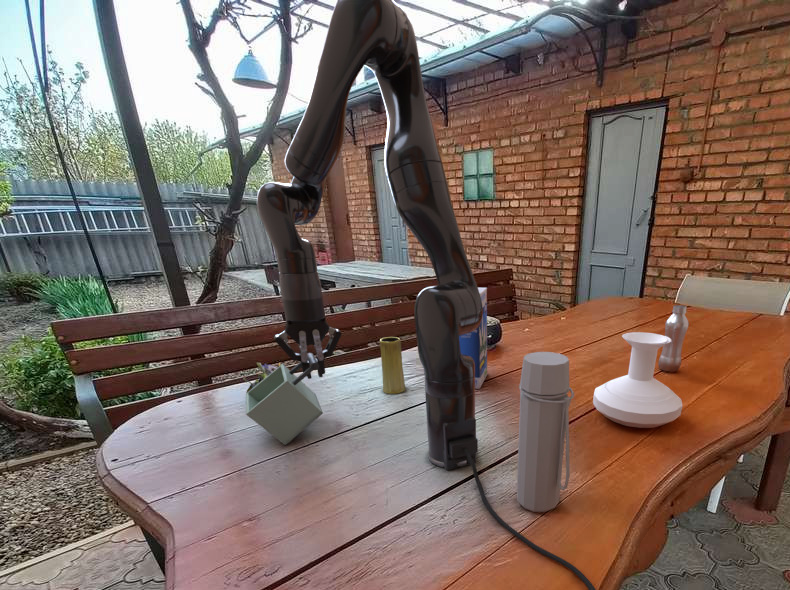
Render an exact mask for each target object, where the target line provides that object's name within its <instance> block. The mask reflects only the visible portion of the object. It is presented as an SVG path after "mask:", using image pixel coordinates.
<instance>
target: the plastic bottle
mask: <svg viewBox="0 0 790 590" xmlns="http://www.w3.org/2000/svg"><path fill="white" fill-rule="evenodd" d="M687 308H688V307H687V305H682V304H677V305H676V304H675V305H673V306H672V311H671V312H672V314H671V315H670V316H669V317H668V318H667V320H666V321H665V325H664V336H667V337H669V338H670V339H671V342H669V343H668V344H666V345H664V346H662V350H661V353H660V356H659V359H658V361H657V362H658V368H659V370H661V371H664V372H677V371H679V370H680V368H681V365H682V353H683V352H682V351H683V345H684V341H685V337H686V334H687V331H688V328H689V325H690V324H689V320H688V317H687V316H686V314H687Z"/></svg>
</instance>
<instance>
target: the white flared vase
mask: <svg viewBox="0 0 790 590" xmlns="http://www.w3.org/2000/svg"><path fill="white" fill-rule="evenodd" d="M621 337H622V338H623V339H624V341H626V342H627V343H628V344H629V345H630V346H631V350H630V359H629V365H628V373H627V374H626V375H623V376H619V377H616V378H614V379H610V380H609V381H607V382H605V383H603V384H600V385H599V386H596V387H595V389H594V392H593V397H592V398H593V399H592V404H593V406H594V408H595V409H596V410H597V411H598V412H599V413H600V414H602V415H603V416H604V417H605V418H606V419H609V420H610V421H612V422H614V423H617V424H619V425H623V426H626V427H631V428H638V429H643V428H644V429H650V428H651V429H653V428H657V427H660V426H664V425H666V424H669V423H671V422H674V421H675V420H677V419H678V418H679V417H681V416H682V415H681V414H682V410H683V401H682V398H681V397H680V396H678V395H677V394H676V393H675V392H674V391H673V390H672V389H671V388H670V387H669V386H668V385H666V384H664V383H662V381H659V380H658V379H656V378H654V376H655V375H654V374H655V368H656V363H657V357H658V352H659V351H658V350H659V349H661V348H663V346H664V345H666V344H668V343H669V342H671V339H670V338H669V337H667V336H665V335H663V334H659V333H653V332H643V331H632V332H626V333H623V334H622V335H621Z"/></svg>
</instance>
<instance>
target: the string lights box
mask: <svg viewBox="0 0 790 590" xmlns="http://www.w3.org/2000/svg"><path fill="white" fill-rule="evenodd" d="M478 290H479V293H480V297H481V301H482V307H483V315H482V320H481V322H480V325H479V326H478V327H477V328H476V329H475V330H474V331H472V332H470V333H467V334H464V335H461V336H459V341H460V351H461V353H462V354H466V355H468V356H470V357H472V358H473V360H474V363H475V390H480V389H481V387H482V385H483V383H484V381H485V380H486V377H487V376H488V287H478Z"/></svg>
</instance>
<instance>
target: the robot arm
mask: <svg viewBox="0 0 790 590" xmlns="http://www.w3.org/2000/svg"><path fill="white" fill-rule="evenodd" d="M330 17H331V18H330V21H329V24H328V29H327V32H326V36H325V38H324V39H325V40H324V44H323V48H322V51H321V53H320V58H319V61H318V66H317V69H316V70H317V71H316V73H315V77H314V81H313V85H312V88H311V93H310V96H309V100H308V103H307V105H306V109H305V111H304V113H303V116H302V119H301V121H300V123H299V125H298V127H297V129H296V132H295V134H294V136H293V138H292V141H291V143H290V145H289V148H288V149H287V151H286V154H285V156H284V165H285V168H286V170H287V171H288V173H290V175H292V176H293V177H292V180H291V182H290V183H283V182H277V181H276V182H275V181H269V182H265V183H264V184H263V185H261V186H260V188H259V190H258V192H257V196H256V206H257V212H258V214H259V217H260V221H261V223H262V224H263V227H264V229H265V231H266V234H267V235H268V236H267V237H268V238H269V241H270V243H271V245H272V246H273V249H274V251H275V258H276V264H277V268H278V278H279V280H278V281H279V288H280V295H281V301H282V306H283V311H284V318H285V325H284V330H283V331H282V332H280V333H277V334H275V335H274V336H273V339H274V342H275V343H276V344H277V345H278V346H279V347H280V348H281V349H282V350H283V351H284V352H285V354H286V355H287V356H288V357H289V358H290V359H291V361H294V362H299V363H300V362H301V364H302V367H301V369H302V373H303V372H304V371H306V370H307V369H308V368H309V367H310V364H309V361H308V357H307V354H308V346H310V345H311V346H313V347H314V351H315V356H316V357H315V359H316V361H317V362H318V364H319V368H318V369H317V370H316V371H317V375H318V378H323V377H324V376H323V375H326V367H325V366H326V365H325V360H326V359H327V358H331V357H332V356H333V354H334V352H335V350H336V347H337V345H338V343H339V341H340V339H341V337H342V331H341V330H339V328H334V327H332V326H330V324H329V323H328V321H327V319H326V311H325V304H324V297H323V291H322V283H321V279H320V277H319V271H318V264H317V257H316V252H315V246H314V244H313V243H312V242H311V241H309V240H307V239H304V238H302V237H301V236H300V234H299V232H298V230H297V227H296V226H305V225H308V224H310V223H312V221H313V220H315V218H316V217H317V215H318V214H319V211H320V208H321V205H322V200H323V195H324V192H325V191H324V190H325V186H326V185H325V184H326V180H327V179H328V177H329V175H330V173H331V171H332V170H333V168H334V166H335V164H336V163H337V160H338V158H339V156H340V154H341V152H342V148H343V146H344V142H345V136H346V116H347V106H348V100H349V96H350V92H351V90H352V87H353V85H354V82H355V81H356V79H357V77H358V76H359V74H360V72H361V71H362V69H363V68H364V67H366V68H368V69H369V70H371V71H372V73H373V74H374V77H375V78H376V81H377V84H378V87H379V90H380V93H381V97H382V100H383V104H384V107H385V112H386V118H387V126H386V127H387V128H386V135H385V136H386V137H385V143H384V144H385V145H384V159H383V160H384V168H385V169H384V170H385V174H386V177H387V181H388V185H389V188H390V192H391V195H392V199H393V203H394V205H395V208H396V210H397V213H398V215H399V216H400V218H401V219H402V222H404V224H405V225H406V227H407V228H408V229H409V231H410V232H411V234H412V236H414V237H415V239H416V240H417V241H418V242H419V244H420V245H421V247H422V249H423V250H424V251H425V252H426V254H427V256H428V258H429V260H430V263H431V265H432V268H433V272H434V275H435V278H436V282H437V284H435V285H431V286H427V287H425V288H423V289H422V290H421V291H420V292H419V293H418V295H417V297H416V300H415V303H414V309H413V311H414V313H413V314H414V327H415V335H416V344H417V353H418V357H419V361H420V363H421V365H422V367H423V375H424V377H423V378H424V392H425V393H424V395H425V410H426V411H425V413H426V428H427V445H428V451H427V453H428V460H429V462H430V463H432V464H433V465H435V466H437V467H441V468H443V469H445V470H446V471H450V470H451V471H452V470H453V469H454V470H455V469H457V468H458V469H459V468H461V467H466V466H470V468H471V470H472V473H473V477H474V480H475V483H476V486H477V489H478V491H479V495H480V497H481V501H482V503H483V505H484V507H485V508H486V510H487V511H488V513H489V514H490V515H491V516H492V518H493V519H494V520H495V521H497V523H498V524H499V525H500V526H502V527H503V528H504V529H505V530H506V531H507V532H509V533H510V534H511V535H513V536H514V537H515V538H517V539H518V540H519V541H521V542H522V543H523V544H525V545H526V546H528V547H529V548H530V549H532V550H534V551H535V552H537V553H539V554H541V555H542V556H544V557H546V558H548V559H550V560H552V561H554V562H556V563H558V564H560V565H561V566H563V567H565V568H566V569H568V570H570V571H571V572H572V573H574V575H575V576H577V577H578V578H579V580H581V581H582V583H583V584H584V585H585V586H586V588H587V589H588V590H597V589H596V587H595V585H593V583H592V582H591V581H590V579H588V578H587V576H586V575H585V574H584V573H582V571H581V570H580V569H578V567H576V566H574V565H573V564H572V563H570V562H569V561H567V560H566V559H563V558H562V557H560V556H558V555H556V554H554V553H552V552H550V551H548V550H546V549H544V548H542V547H540V546H539V545H537V544H536V543H534V542H532V541H531V540H529V539H528V538H526V537H525V536H524V535H522V534H521V533H520V532H518V531H517V530H515V528H513V527H512V526H510V525H509V524H508V523H507V522H505V521H504V520H503V519H502V518H501V517H500V516H499V515H498V513H497V512H496V511H495V510H494V509H493V508H492V506H491V504H490V503H489V501H488V499H487V497H486V494H485V492H484V488H483V485H482V483H481V479H480V476H479V473H478V469H477V467H476V463H477V454H478V453H479V449H478V442H479V439H478V438H477V419H476V389H475V363H474V360H473V358H472V357H470V356H468V355H466V354H462V353H461V351H460V341H459V336H461V335H464V334H467V333H470V332H472V331H474V330H475V329H476V328H477V327H478V326H479V325H480V322H481V320H482V315H483V307H482V301H481V297H480V293H479V290H478V288H479V287H478V284H477V282H476V278H475V276H474V274H473V270H472V268H471V265H470V262H469V259H468V256H467V254H466V250H465V246H464V244H463V240H462V236H461V233H460V229H459V225H458V221H457V217H456V214H455V210H454V206H453V203H452V202H453V201H452V197H451V193H450V187H449V183H448V180H447V176H446V172H445V167H444V164H443V160H442V157H441V153H440V150H439V147H438V146H439V145H438V141H437V138H436V134H435V130H434V125H433V121H432V119H431V114H430V110H429V107H428V103H427V98H426V93H425V87H424V81H423V75H422V74H423V73H422V68H421V61H420V56H419V49H418V42H417V38H416V33H415V29H414V27H413V24H412V21H411V20H410V18H409V16H408V14H407V13H406V12H405V11H404V9H403V8H402V7H401V6H400V5H399V4H398V3H397V2H396V1H395V0H336V2H335V5H334V8H333V11H332V14H331V16H330ZM327 334H328V337H329V340H328V342H327V344H326V347H325V348H324V350H323V345H322V342H323V340H324V339H325V337H326V336H327ZM288 337H290V339H291V340H293V341H294V342H295V343H296V344H297V345H298V349H299V353H297V352H295V350H294V349H293V348H292V347H291V346H290V345H289V344H288V343H289V339H288ZM306 377H307V380H310V379H312V372H311V373H310V374H308V375H307V376H306ZM306 377H305V378H306Z"/></svg>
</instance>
